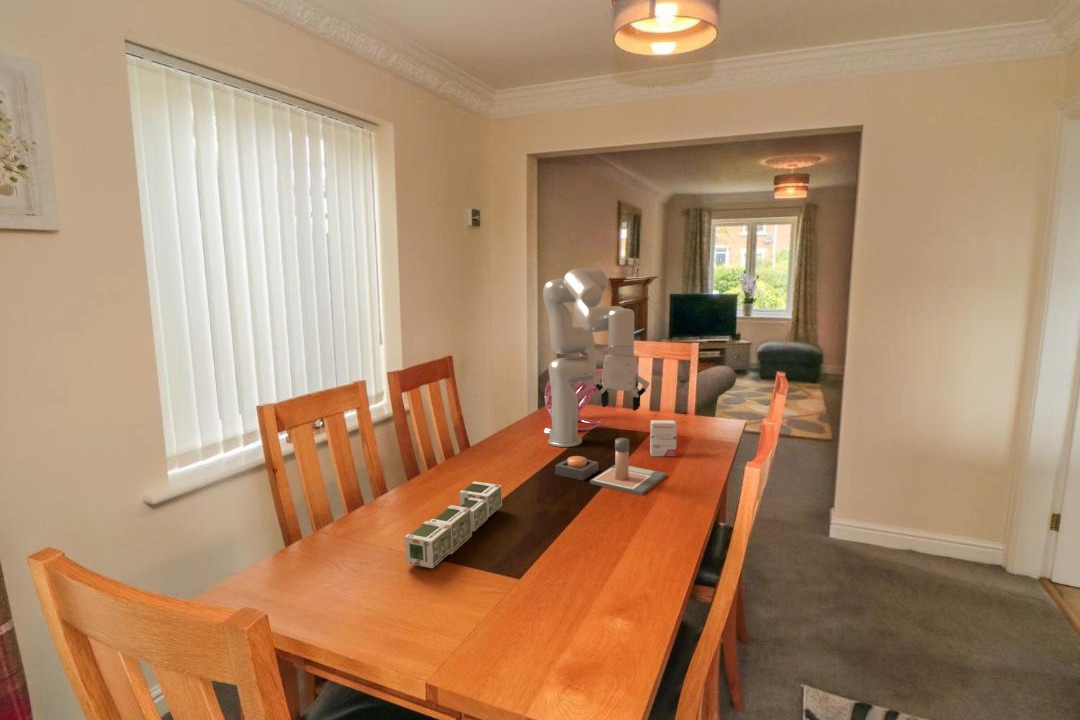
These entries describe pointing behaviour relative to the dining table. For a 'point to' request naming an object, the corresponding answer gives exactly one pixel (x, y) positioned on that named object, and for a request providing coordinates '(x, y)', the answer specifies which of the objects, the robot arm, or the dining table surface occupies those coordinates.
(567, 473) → the button housing
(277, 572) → the dining table surface
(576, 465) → the button
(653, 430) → the ink box
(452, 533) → the row of white-green cartons
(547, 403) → the spiral basket
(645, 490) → the picture board
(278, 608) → the dining table surface
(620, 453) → the marker
